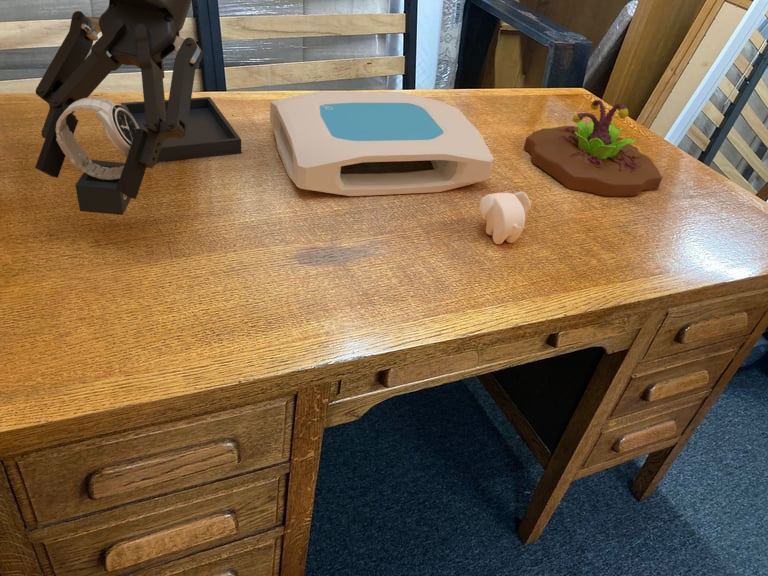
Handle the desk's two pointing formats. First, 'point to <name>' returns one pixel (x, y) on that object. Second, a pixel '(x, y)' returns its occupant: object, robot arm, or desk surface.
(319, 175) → the document scanner
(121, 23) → the robot arm
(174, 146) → the tray
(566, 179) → the plant
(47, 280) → the desk surface
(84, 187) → the watch
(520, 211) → the elephant figurine
